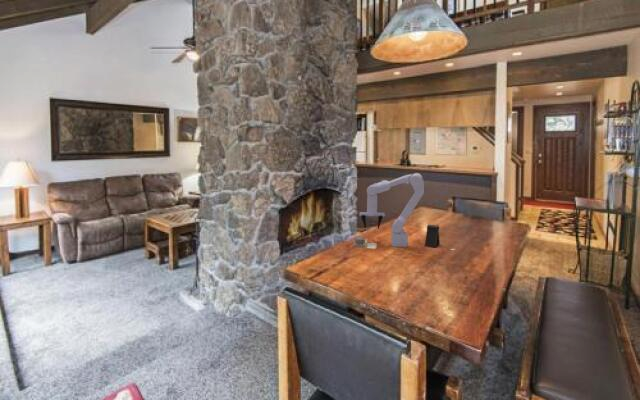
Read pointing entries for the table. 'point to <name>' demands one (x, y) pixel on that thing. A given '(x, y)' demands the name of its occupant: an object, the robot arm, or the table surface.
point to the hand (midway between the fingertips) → (371, 228)
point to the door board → (365, 244)
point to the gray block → (359, 241)
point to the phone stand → (432, 236)
